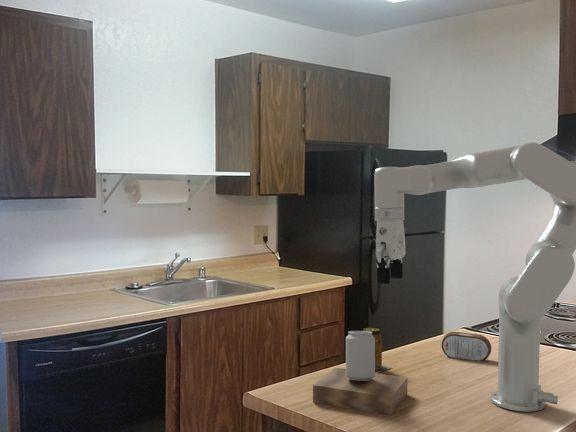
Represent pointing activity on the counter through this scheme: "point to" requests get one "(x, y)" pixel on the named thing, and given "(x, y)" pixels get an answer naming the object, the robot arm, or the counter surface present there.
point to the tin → (466, 346)
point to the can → (360, 355)
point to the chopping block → (361, 392)
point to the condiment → (377, 349)
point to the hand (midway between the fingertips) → (390, 280)
